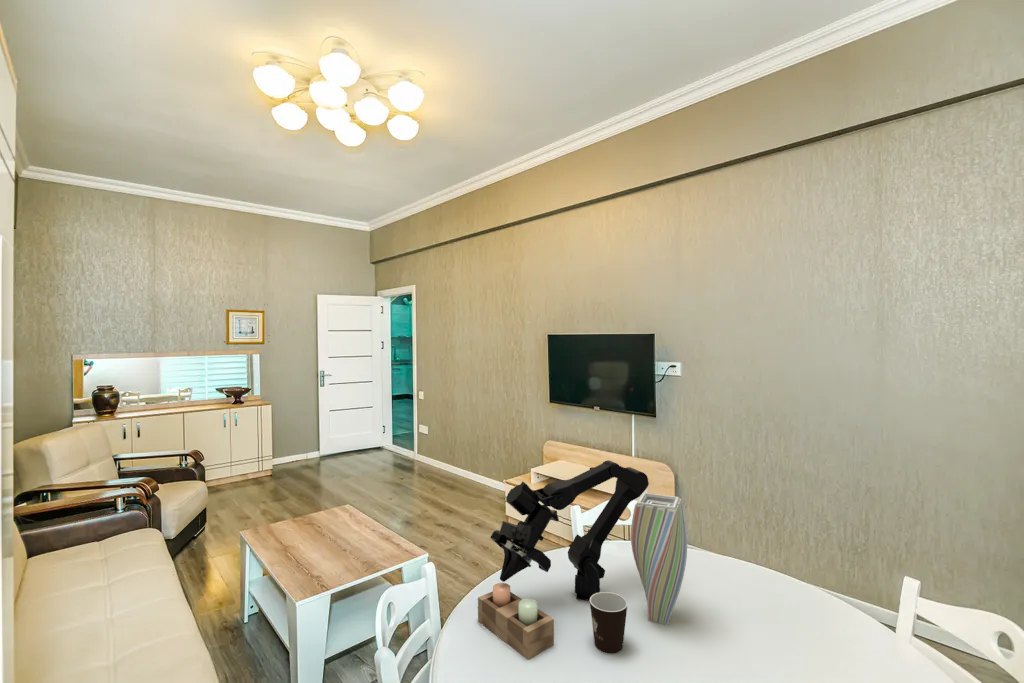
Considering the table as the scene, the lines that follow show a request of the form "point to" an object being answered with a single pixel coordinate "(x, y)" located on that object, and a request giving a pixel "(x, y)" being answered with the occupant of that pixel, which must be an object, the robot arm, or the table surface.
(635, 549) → the vase
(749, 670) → the table surface
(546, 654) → the table surface
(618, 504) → the robot arm
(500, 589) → the peach orange egg
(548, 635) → the wooden compartment box
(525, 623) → the pale green egg
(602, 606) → the brown paper cup
